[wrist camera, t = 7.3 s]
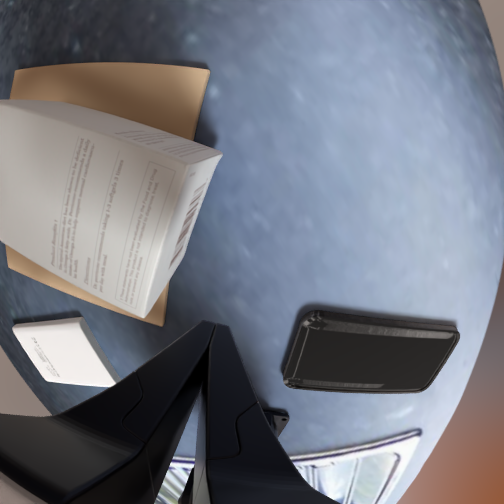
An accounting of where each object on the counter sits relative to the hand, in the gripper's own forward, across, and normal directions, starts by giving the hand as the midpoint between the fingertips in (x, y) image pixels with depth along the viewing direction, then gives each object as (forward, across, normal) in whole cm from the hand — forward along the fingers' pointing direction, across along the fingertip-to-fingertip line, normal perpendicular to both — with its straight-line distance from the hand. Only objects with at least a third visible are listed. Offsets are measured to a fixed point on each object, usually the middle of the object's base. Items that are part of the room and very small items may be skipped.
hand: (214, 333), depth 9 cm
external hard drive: (+11, +16, +18) cm, 26 cm away
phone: (+11, -13, +8) cm, 19 cm away
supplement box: (+6, +2, -1) cm, 7 cm away
